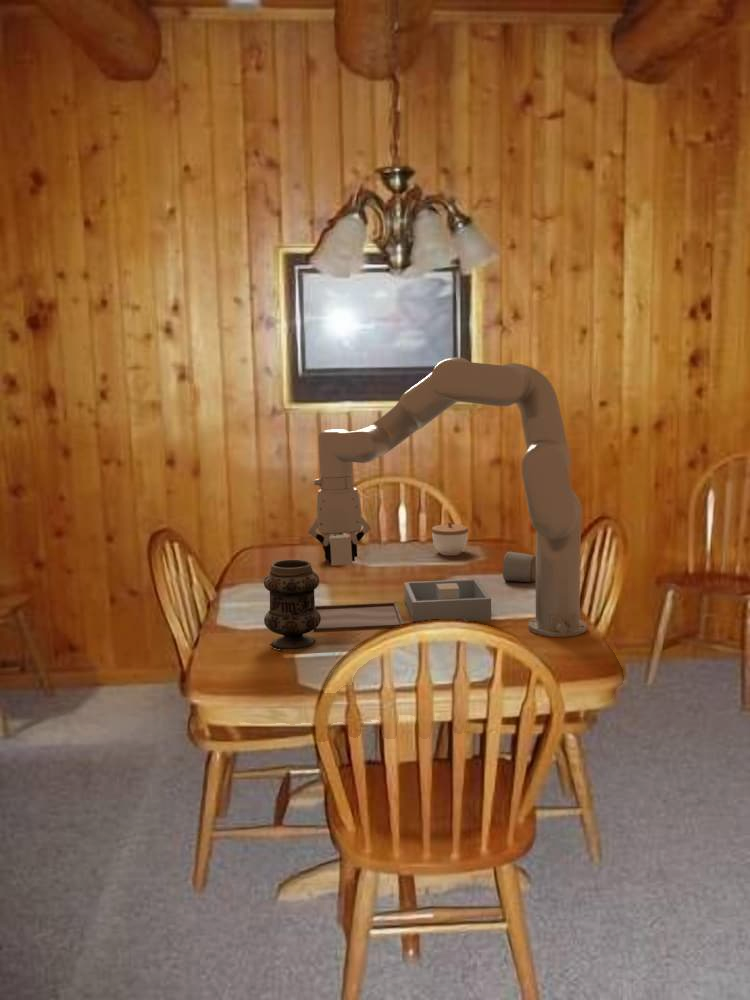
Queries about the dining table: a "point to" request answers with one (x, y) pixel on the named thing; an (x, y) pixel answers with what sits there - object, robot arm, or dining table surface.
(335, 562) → the stone
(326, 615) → the walnut tray
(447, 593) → the beige block
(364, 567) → the dining table surface
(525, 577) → the ceramic mug
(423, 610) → the tub
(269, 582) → the apothecary jar
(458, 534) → the lidded jar
